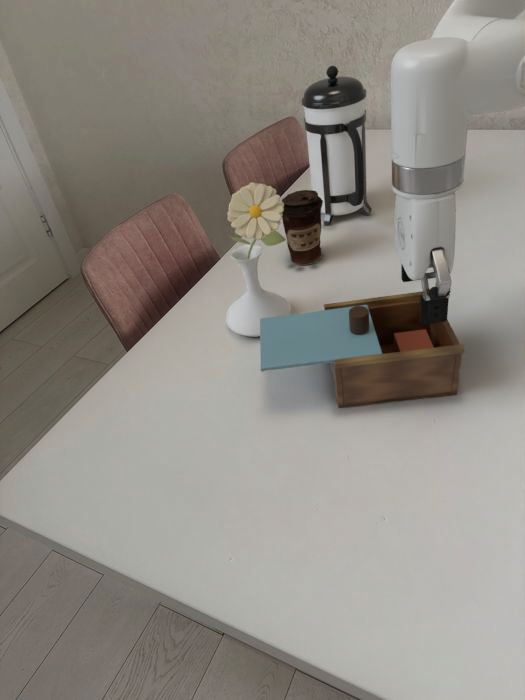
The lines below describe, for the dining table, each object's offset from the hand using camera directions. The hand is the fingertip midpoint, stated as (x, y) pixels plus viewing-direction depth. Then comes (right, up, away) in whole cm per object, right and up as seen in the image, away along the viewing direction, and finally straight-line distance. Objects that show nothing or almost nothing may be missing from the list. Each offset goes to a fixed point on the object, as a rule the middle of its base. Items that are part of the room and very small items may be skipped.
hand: (422, 299), depth 65 cm
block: (+1, -9, +7) cm, 11 cm away
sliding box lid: (-14, -5, +3) cm, 15 cm away
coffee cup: (-12, +12, +36) cm, 40 cm away
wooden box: (-3, -10, +7) cm, 13 cm away
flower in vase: (-21, -2, +21) cm, 30 cm away
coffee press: (-2, +25, +49) cm, 55 cm away
